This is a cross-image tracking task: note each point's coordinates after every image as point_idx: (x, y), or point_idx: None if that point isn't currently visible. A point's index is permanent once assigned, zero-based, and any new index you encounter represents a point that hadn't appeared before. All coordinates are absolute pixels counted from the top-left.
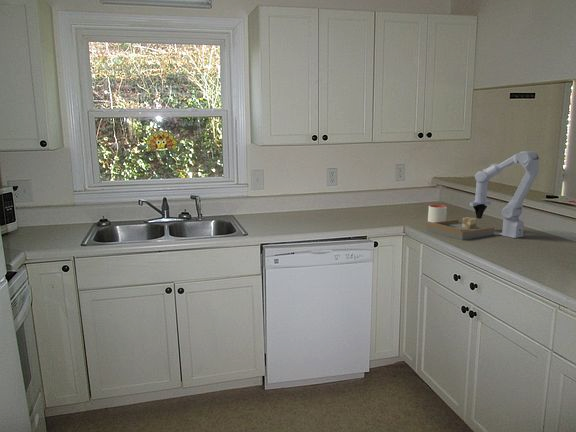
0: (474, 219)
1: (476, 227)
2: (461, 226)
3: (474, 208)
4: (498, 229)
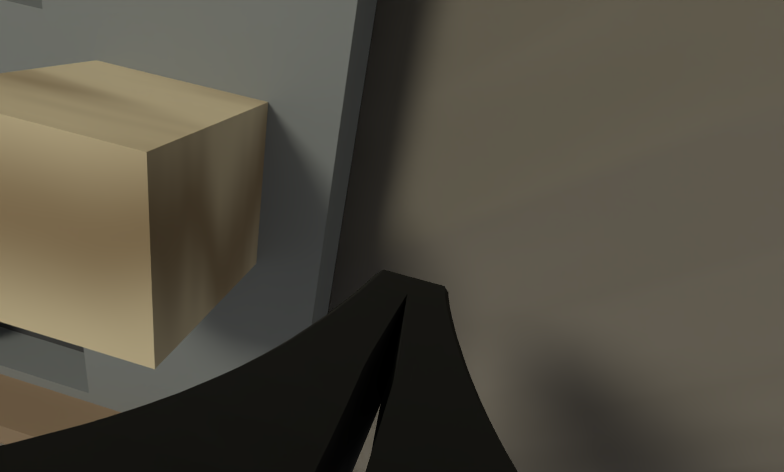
0: (86, 339)
1: (291, 255)
2: (126, 19)
3: (125, 427)
4: (715, 416)
